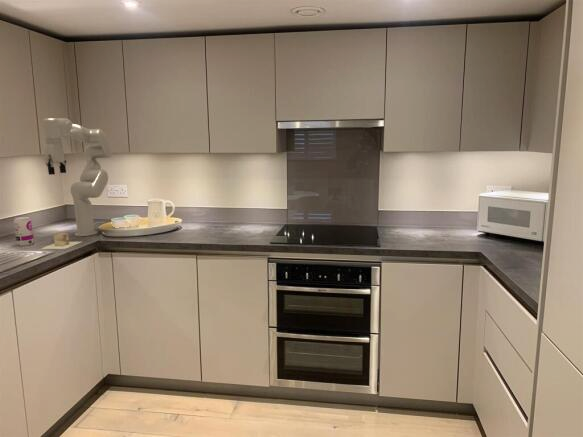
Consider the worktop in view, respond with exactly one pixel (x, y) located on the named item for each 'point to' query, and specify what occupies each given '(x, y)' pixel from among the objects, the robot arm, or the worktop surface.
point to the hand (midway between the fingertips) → (57, 173)
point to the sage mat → (61, 246)
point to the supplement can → (23, 231)
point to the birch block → (61, 239)
